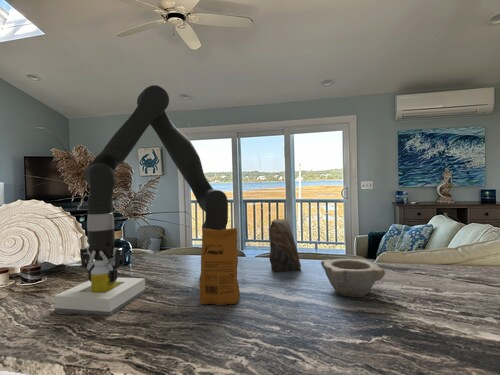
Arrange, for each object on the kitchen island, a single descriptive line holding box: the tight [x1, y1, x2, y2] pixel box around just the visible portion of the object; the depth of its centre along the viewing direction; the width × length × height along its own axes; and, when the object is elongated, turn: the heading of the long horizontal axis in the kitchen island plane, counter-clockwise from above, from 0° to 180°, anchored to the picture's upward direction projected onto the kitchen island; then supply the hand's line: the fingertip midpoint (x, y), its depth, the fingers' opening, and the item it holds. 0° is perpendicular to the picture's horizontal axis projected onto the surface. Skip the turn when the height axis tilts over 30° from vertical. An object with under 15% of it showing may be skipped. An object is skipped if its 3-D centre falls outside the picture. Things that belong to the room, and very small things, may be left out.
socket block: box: [53, 276, 146, 316], centre depth 94 cm, size 18×18×5 cm
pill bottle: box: [91, 259, 115, 293], centre depth 94 cm, size 6×6×12 cm
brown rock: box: [268, 217, 302, 274], centre depth 125 cm, size 13×13×20 cm
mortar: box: [320, 258, 386, 298], centre depth 96 cm, size 17×17×9 cm
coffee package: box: [199, 227, 241, 306], centre depth 92 cm, size 10×12×22 cm
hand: (103, 281), depth 94 cm, fingers closed on pill bottle, 6 cm apart
